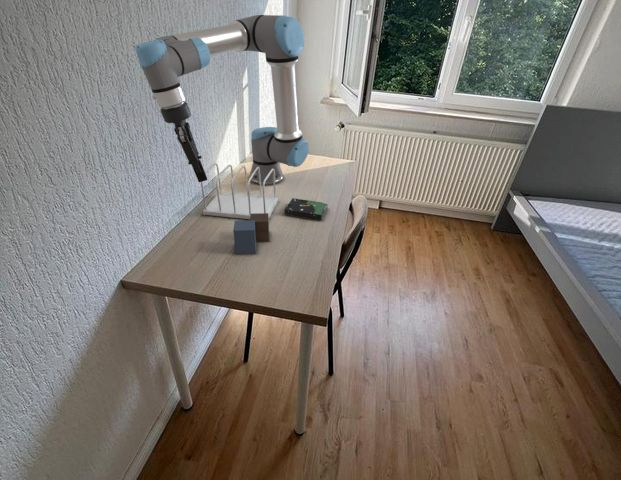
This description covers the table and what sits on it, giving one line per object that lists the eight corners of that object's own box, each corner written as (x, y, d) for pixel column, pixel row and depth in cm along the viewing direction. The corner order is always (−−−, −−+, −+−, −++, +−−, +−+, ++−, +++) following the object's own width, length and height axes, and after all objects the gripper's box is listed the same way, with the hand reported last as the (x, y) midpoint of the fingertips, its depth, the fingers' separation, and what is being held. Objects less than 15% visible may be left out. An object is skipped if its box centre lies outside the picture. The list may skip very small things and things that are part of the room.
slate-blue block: (237, 243, 116) (234, 220, 112) (256, 243, 117) (254, 220, 112) (235, 254, 112) (233, 230, 107) (255, 253, 112) (254, 230, 107)
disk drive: (284, 215, 134) (321, 221, 131) (284, 209, 132) (322, 214, 129) (292, 203, 142) (327, 208, 139) (292, 197, 141) (327, 202, 138)
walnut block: (251, 233, 122) (250, 213, 118) (269, 232, 123) (268, 213, 118) (251, 242, 118) (249, 221, 113) (269, 241, 118) (268, 221, 114)
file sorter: (278, 201, 143) (277, 165, 135) (267, 222, 129) (265, 183, 120) (219, 195, 146) (215, 159, 137) (203, 215, 132) (197, 177, 123)
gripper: (161, 102, 101) (192, 174, 115) (156, 114, 90) (190, 192, 105) (187, 96, 101) (214, 169, 116) (185, 107, 91) (214, 186, 105)
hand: (203, 180), depth 110 cm, fingers closed
